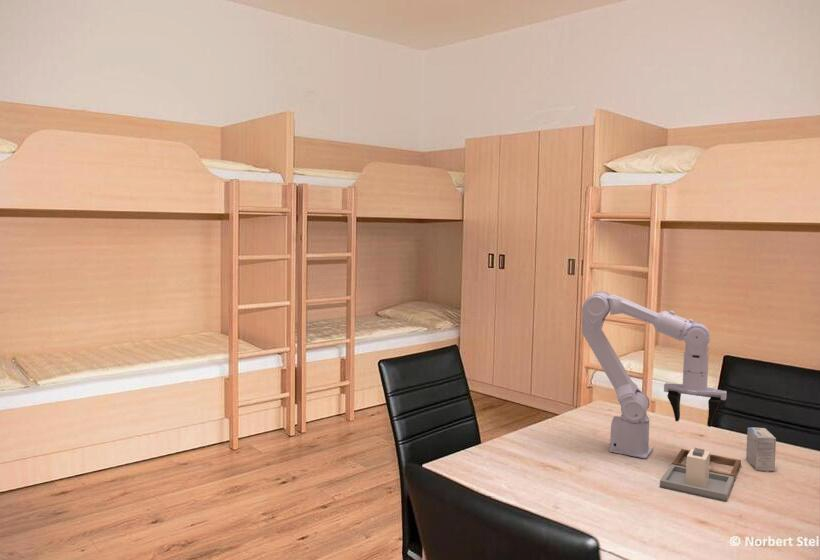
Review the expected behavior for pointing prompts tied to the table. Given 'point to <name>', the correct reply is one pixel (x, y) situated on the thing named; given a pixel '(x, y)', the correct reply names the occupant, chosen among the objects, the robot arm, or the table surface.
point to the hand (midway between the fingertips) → (693, 422)
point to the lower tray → (714, 489)
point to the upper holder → (713, 458)
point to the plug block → (697, 468)
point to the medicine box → (761, 449)
